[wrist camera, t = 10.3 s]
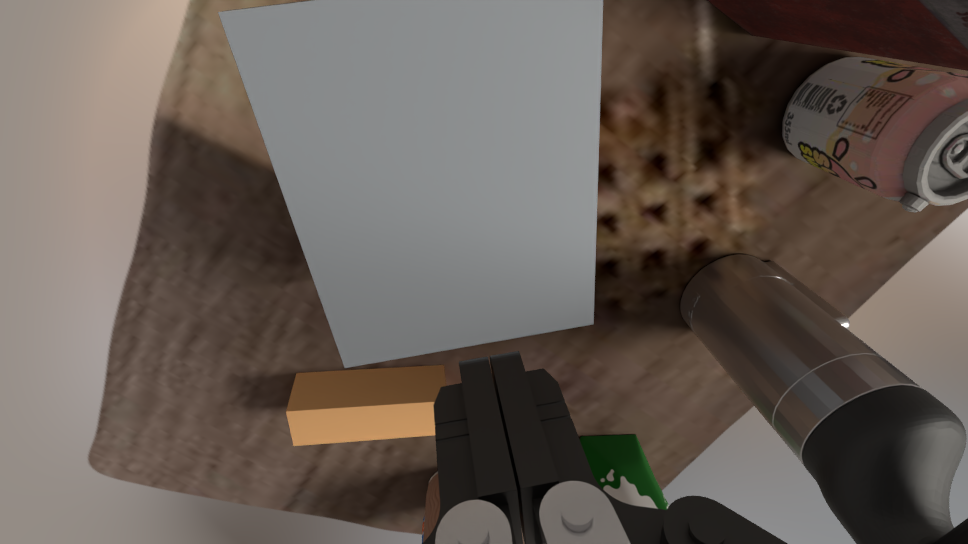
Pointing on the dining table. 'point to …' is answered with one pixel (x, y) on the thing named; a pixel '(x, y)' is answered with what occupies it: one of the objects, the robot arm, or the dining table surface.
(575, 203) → the lid
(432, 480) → the coffee cup
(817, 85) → the beverage can
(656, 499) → the milk carton
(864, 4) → the decanter
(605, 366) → the dining table surface
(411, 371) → the light orange bar
